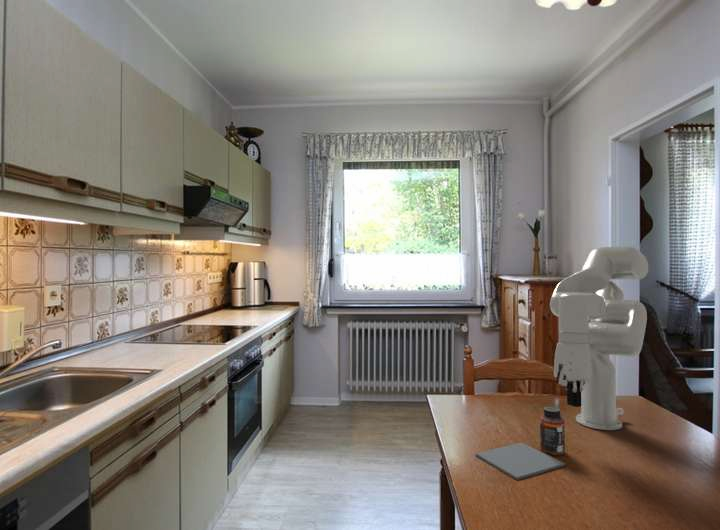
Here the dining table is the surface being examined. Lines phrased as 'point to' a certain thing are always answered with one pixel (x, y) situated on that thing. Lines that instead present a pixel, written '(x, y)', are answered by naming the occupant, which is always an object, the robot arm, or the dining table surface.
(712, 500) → the dining table surface
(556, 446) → the supplement bottle
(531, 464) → the mat
